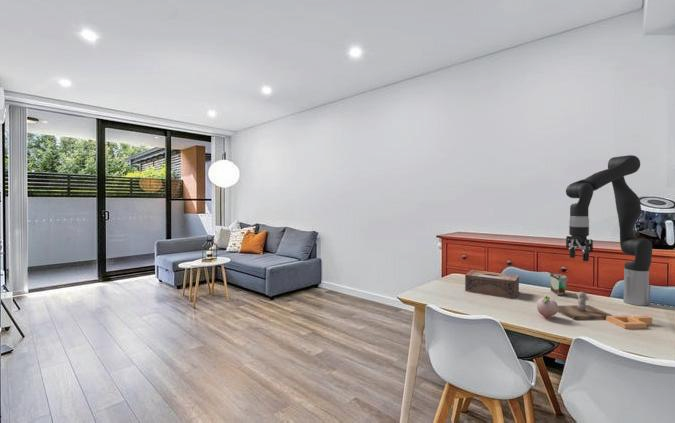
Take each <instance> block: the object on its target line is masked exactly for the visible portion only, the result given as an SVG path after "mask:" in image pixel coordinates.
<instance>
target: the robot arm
mask: <svg viewBox="0 0 675 423" xmlns="http://www.w3.org/2000/svg"><path fill="white" fill-rule="evenodd" d="M640 167H641V160H640V158H639V157H638V156H636V155H633V154H630V155H629V154H628V155H621V156H614V157H611V158H610V159H609V160H608V162H607V168H606V169H604V170H600V171H598V172H595V173H593V174H591V175H590V176H588V177H586V178H584V179H580V180H577V181H575V182H572V183H570V184H569V185H568V186H567V187H566V189H565V194H566V196H567V197H568V198H570V199H578V201H577V202H576V203H572V204H570V206H569V220H568V222H569V225H568V228H569V230H568V231H569V232H568V234H569V235H567V236H566V240H565V241H566V242H565V249H568V250H569V258H570V259H574V258H576V249H577V248H579V250H581V252H582V262H589V259H590V254H591V253H593V252H594V242H593V239H591V238H590V239H588V238H587V237H588V236H590V219H589V218H590V217H589V206H590V204H591V201H592V198H593V195H594V191H597V190H599V189H601V188H602V187H604V186H606V185H609V183H611V185H612V190H613V194H614V200H615V208H616V213H617V214H616V215H617V218H618V226H619V227H618V228H619V245H620V250H621V251H622V253H623V254H625V255H628V256H632V257H633V256H634V260H632V261H627V262H625V263H624V266H623V267H624V269H623V271H624V272H623V277H624V278H623V302H624V303H625V304H630V305H635V306H640V307H641V306H648V305H651V285H650V284H649V279H650V266H652V265H651V264H652V258H653V256H652V255H653V244H652V242H651V240H649V239H647V238H642V237H641V238H640V237H635V234H634V227H635V226H636V223H637V222H638V220H639V218H640V216H641V214H642V205H641V198H639V196H638V195H637V194H636V192H635V191H633V189H632V188H631V187H630V186H629V185H628V183H627V182H626V179H625V176H629V175H632V174H635V173H636V172H638V171H639V169H640Z"/></svg>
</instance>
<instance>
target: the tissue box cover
mask: <svg viewBox="0 0 675 423" xmlns="http://www.w3.org/2000/svg"><path fill="white" fill-rule="evenodd" d="M464 277H465V280H464V282H465V284H464V285H465V286H464V291H465V292H468V293H474V294H481V295H486V296H487V295H489V296H494V297H501V298H505V299H506V298H507V299H512V300H514V299H516V298H517V296H518V294H519V293H520V275H518V274H508V273H500V272H493V271H492V272H491V271H485V270H484V271H483V270H475V269H471V270H470V271H468V272H467V273H465V276H464Z"/></svg>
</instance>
